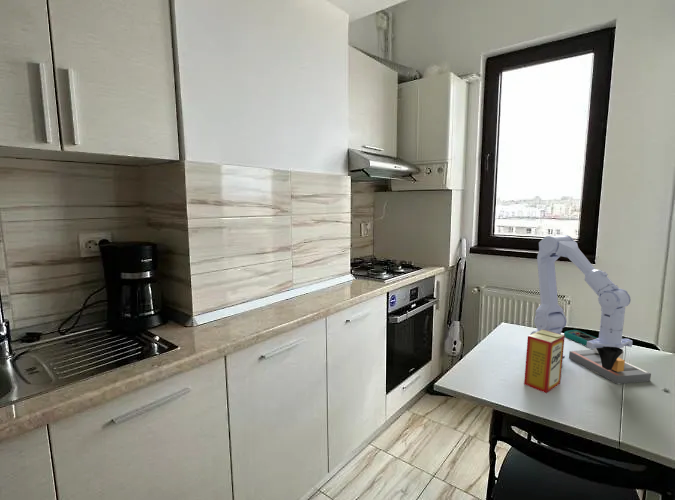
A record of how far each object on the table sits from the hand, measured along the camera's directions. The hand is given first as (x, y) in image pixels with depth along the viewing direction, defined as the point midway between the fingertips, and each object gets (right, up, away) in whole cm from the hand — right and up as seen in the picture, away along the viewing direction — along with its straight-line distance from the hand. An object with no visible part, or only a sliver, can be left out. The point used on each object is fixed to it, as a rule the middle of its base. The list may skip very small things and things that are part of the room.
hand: (606, 368), depth 114 cm
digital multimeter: (+14, 0, +31) cm, 34 cm away
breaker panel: (+6, -3, +7) cm, 9 cm away
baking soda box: (-22, -4, -3) cm, 23 cm away
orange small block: (+3, 0, +1) cm, 3 cm away
